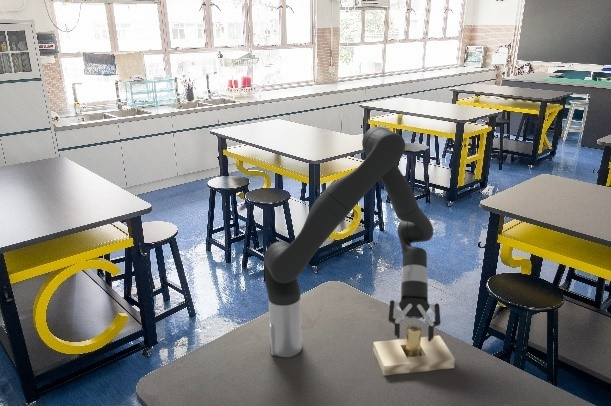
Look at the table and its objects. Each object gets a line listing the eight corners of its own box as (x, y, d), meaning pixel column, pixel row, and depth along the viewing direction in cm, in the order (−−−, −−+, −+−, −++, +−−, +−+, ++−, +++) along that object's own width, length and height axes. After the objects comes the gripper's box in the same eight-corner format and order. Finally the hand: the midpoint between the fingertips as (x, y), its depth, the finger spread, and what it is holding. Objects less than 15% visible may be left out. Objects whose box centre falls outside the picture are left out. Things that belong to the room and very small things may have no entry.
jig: (383, 375, 132) (384, 366, 131) (373, 350, 143) (373, 341, 142) (454, 367, 135) (454, 358, 134) (438, 343, 145) (439, 335, 144)
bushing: (407, 363, 137) (409, 333, 133) (403, 355, 140) (404, 325, 137) (421, 362, 137) (423, 332, 134) (416, 353, 141) (418, 323, 137)
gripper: (390, 277, 140) (388, 335, 133) (441, 281, 138) (441, 339, 131) (389, 285, 147) (387, 340, 140) (438, 288, 144) (438, 344, 138)
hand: (413, 339), depth 135 cm, fingers open, 8 cm apart
